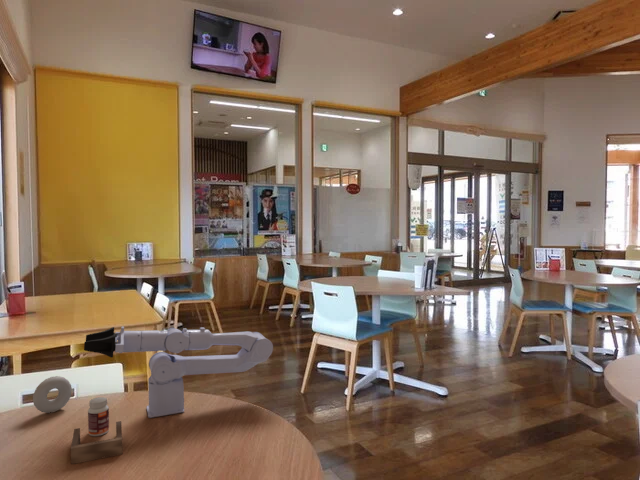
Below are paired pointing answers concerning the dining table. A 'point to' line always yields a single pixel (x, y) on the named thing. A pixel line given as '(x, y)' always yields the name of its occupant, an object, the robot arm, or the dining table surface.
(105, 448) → the brown u-shaped block
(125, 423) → the dining table surface
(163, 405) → the robot arm
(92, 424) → the pill bottle
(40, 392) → the donut
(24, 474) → the dining table surface
